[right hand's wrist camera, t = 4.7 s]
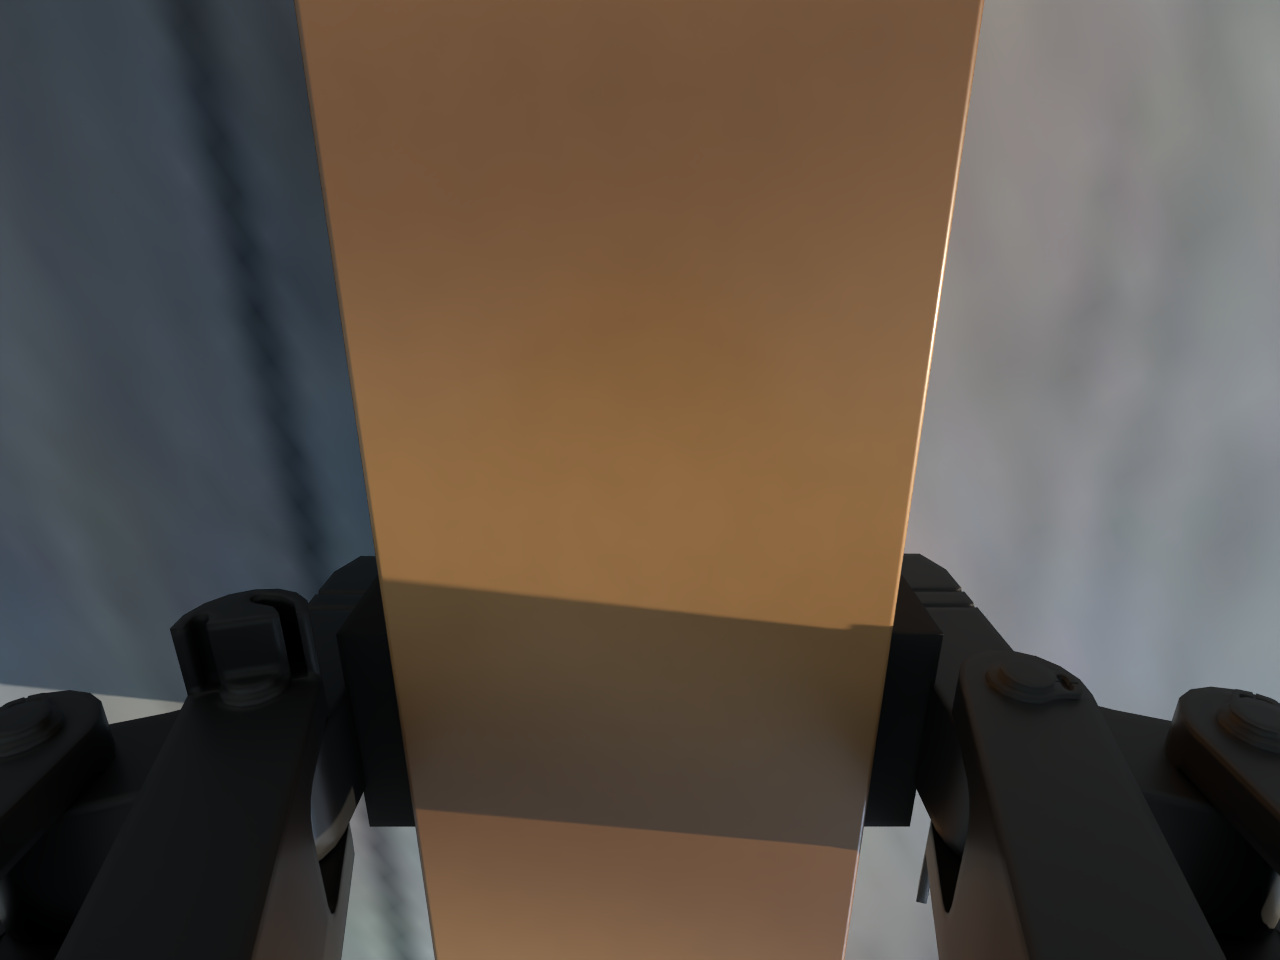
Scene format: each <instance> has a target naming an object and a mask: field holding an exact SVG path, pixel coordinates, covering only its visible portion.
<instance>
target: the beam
mask: <svg viewBox="0 0 1280 960" xmlns="http://www.w3.org/2000/svg"><path fill="white" fill-rule="evenodd" d="M294 5H295V11H296V18H297V25H298V32H299V39H300V45H301V52H302V59H303V66H304V73H305V79H306V86H307V93H308V100H309V106H310V113H311V120H312V127H313V134H314V140H315V147H316V154H317V161H318V168H319V174H320V181H321V188H322V195H323V202H324V208H325V215H326V222H327V229H328V236H329V242H330V249H331V256H332V263H333V270H334V276H335V283H336V290H337V297H338V304H339V310H340V317H341V324H342V331H343V338H344V344H345V351H346V358H347V365H348V372H349V378H350V385H351V392H352V399H353V406H354V412H355V419H356V426H357V433H358V439H359V446H360V453H361V460H362V467H363V473H364V480H365V487H366V494H367V501H368V507H369V514H370V521H371V528H372V535H373V541H374V548H375V555H376V562H377V569H378V575H379V582H380V589H381V596H382V603H383V609H384V616H385V623H386V630H387V637H388V643H389V650H390V657H391V664H392V671H393V677H394V684H395V691H396V698H397V705H398V711H399V718H400V725H401V732H402V739H403V745H404V752H405V759H406V766H407V772H408V779H409V786H410V793H411V800H412V806H413V813H414V820H415V827H416V834H417V840H418V847H419V854H420V861H421V868H422V874H423V881H424V888H425V895H426V902H427V908H428V915H429V922H430V929H431V936H432V942H433V949H434V956H435V960H844V958H845V951H846V945H847V938H848V931H849V924H850V917H851V910H852V903H853V897H854V890H855V883H856V876H857V869H858V862H859V856H860V849H861V842H862V835H863V828H864V821H865V814H866V808H867V801H868V794H869V787H870V780H871V773H872V766H873V760H874V753H875V746H876V739H877V732H878V725H879V718H880V712H881V705H882V698H883V691H884V684H885V677H886V670H887V664H888V657H889V650H890V643H891V636H892V629H893V622H894V616H895V609H896V602H897V595H898V588H899V581H900V575H901V568H902V561H903V554H904V547H905V540H906V533H907V527H908V520H909V513H910V506H911V499H912V492H913V485H914V479H915V472H916V465H917V458H918V451H919V444H920V437H921V431H922V424H923V417H924V410H925V403H926V396H927V389H928V383H929V376H930V369H931V362H932V355H933V348H934V341H935V335H936V328H937V321H938V314H939V307H940V300H941V294H942V287H943V280H944V273H945V266H946V259H947V252H948V246H949V239H950V232H951V225H952V218H953V211H954V204H955V198H956V191H957V184H958V177H959V170H960V163H961V156H962V150H963V143H964V136H965V129H966V122H967V115H968V108H969V102H970V95H971V88H972V81H973V74H974V67H975V60H976V54H977V47H978V40H979V33H980V26H981V19H982V13H983V6H984V0H294Z"/></svg>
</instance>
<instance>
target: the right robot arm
mask: <svg viewBox="0 0 1280 960" xmlns="http://www.w3.org/2000/svg"><path fill="white" fill-rule="evenodd" d="M170 631H171V635H172V638H173V642H174V646H175V649H176V653H177V657H178V660H179V664H180V668H181V671H182V675H183V679H184V682H185V686H186V690H187V694H188V696H187V698H186V700H185V702H184V704H183V706H182V708H181V710H177V711H173V712H169V713H165V714H160V715H155V716H150V717H144V718H139V719H134V720H129V721H124V722H119V723H114V724H108V721H107V718H106V715H105V712H104V709H103V705H102V702H101V701H100V700H99V699H97V698H96V697H95V696H93V695H92V694H91V693H87V692H79V691H72V690H67V691H59V692H50V693H40V694H35V695H31V696H28V698H24V697H23V698H20V699H17V700H14V701H11V702H8V703H6V704H5V705H3V706H2V707H0V960H341V957H342V949H343V941H344V933H345V925H346V917H347V910H348V902H349V894H350V886H351V878H352V870H353V862H354V855H355V854H354V846H353V839H352V834H351V829H350V823H349V822H350V819H351V817H352V815H353V813H354V811H355V809H356V807H357V804H358V802H359V800H360V798H361V796H362V794H363V792H364V796H365V802H366V807H367V813H368V819H369V824H370V827H377V826H415V820H414V813H413V806H412V800H411V793H410V786H409V779H408V772H407V766H406V759H405V752H404V745H403V739H402V732H401V725H400V718H399V711H398V705H397V698H396V691H395V684H394V677H393V671H392V664H391V657H390V650H389V643H388V637H387V630H386V623H385V616H384V609H383V603H382V596H381V589H380V582H379V575H378V569H377V562H376V556H360V557H358V558H357V559H355V560H353V561H352V562H350V563H348V564H347V565H345V566H343V567H342V568H340V569H338V570H337V571H335V572H334V573H333V574H332V575H331V576H330V578H329V579H328V580H327V581H326V583H325V584H324V585H323V586H322V587H321V589H320V590H319V594H316V595H315V596H314V597H313V598H312V600H311V601H310V602H309V603H308V602H307V600H306V599H305V598H303V597H302V596H301V595H299V594H298V593H296V592H291V591H287V590H282V589H255V590H250V591H245V592H240V593H235V594H229V595H227V596H224V597H221V598H218V599H215V600H213V601H210V602H207V603H204V604H202V605H201V606H199V607H197V608H195V609H194V610H192V611H190V612H188V613H187V614H185V615H183V616H182V617H181V618H180V619H179V620H178V621H177V622H176V623H175V624H174V625H173V626H172V627H171V628H170ZM916 789H917V791H918V793H919V795H920V797H921V799H922V802H923V804H924V806H925V808H926V810H927V812H928V814H929V816H930V819H931V823H930V829H929V834H928V839H927V844H926V850H925V855H924V860H923V866H922V871H921V876H920V881H919V887H918V894H917V901H916V902H921V903H925V904H926V903H927V898H928V893H929V888H930V892H931V900H932V908H933V916H934V924H935V931H936V939H937V947H938V955H939V960H1280V703H1278V702H1277V701H1275V700H1274V699H1271V698H1269V697H1265V696H1262V695H1259V694H1256V695H1254V694H1253V693H1252V692H1248V691H1243V690H1238V689H1226V688H1217V687H1205V688H1198V689H1190V690H1189V691H1188V692H1186V693H1185V694H1184V695H1182V696H1181V697H1180V698H1179V701H1178V704H1177V707H1176V710H1175V713H1174V716H1173V719H1172V721H1168V720H1163V719H1158V718H1152V717H1147V716H1142V715H1137V714H1132V713H1127V712H1122V711H1117V710H1112V709H1108V708H1104V707H1100V706H1098V705H1097V703H1096V701H1095V699H1094V697H1093V695H1092V694H1091V692H1090V691H1089V690H1088V689H1087V688H1086V686H1085V685H1084V684H1083V683H1082V682H1081V680H1080V679H1078V678H1077V677H1075V676H1074V675H1072V674H1071V673H1069V672H1068V671H1066V670H1065V669H1063V668H1062V667H1061V666H1058V665H1056V664H1054V663H1051V662H1049V661H1046V660H1044V659H1042V658H1039V657H1037V656H1033V655H1028V654H1024V653H1020V652H1015V651H1013V650H1012V649H1011V647H1010V646H1009V645H1008V644H1007V643H1006V641H1005V640H1004V639H1003V638H1002V636H1001V635H1000V634H999V633H998V632H997V630H996V629H995V628H994V627H993V626H992V624H991V623H990V622H989V621H988V620H987V618H986V617H985V616H984V615H983V614H982V612H981V611H980V610H979V609H978V608H977V607H974V603H973V602H972V600H971V599H970V598H969V597H968V596H967V594H966V593H965V592H962V591H961V587H960V586H959V585H958V583H957V582H956V581H955V580H954V579H953V577H952V576H951V575H950V574H949V573H948V571H947V570H946V569H944V568H942V567H941V566H939V565H937V564H936V563H934V562H932V561H931V560H929V559H927V558H926V557H924V556H922V555H921V554H903V561H902V568H901V575H900V581H899V588H898V595H897V602H896V609H895V616H894V622H893V629H892V636H891V643H890V650H889V657H888V664H887V670H886V677H885V684H884V691H883V698H882V705H881V712H880V718H879V725H878V732H877V739H876V746H875V753H874V760H873V766H872V773H871V780H870V787H869V794H868V801H867V808H866V814H865V821H864V826H910V822H911V816H912V811H913V805H914V799H915V794H916Z"/></svg>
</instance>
